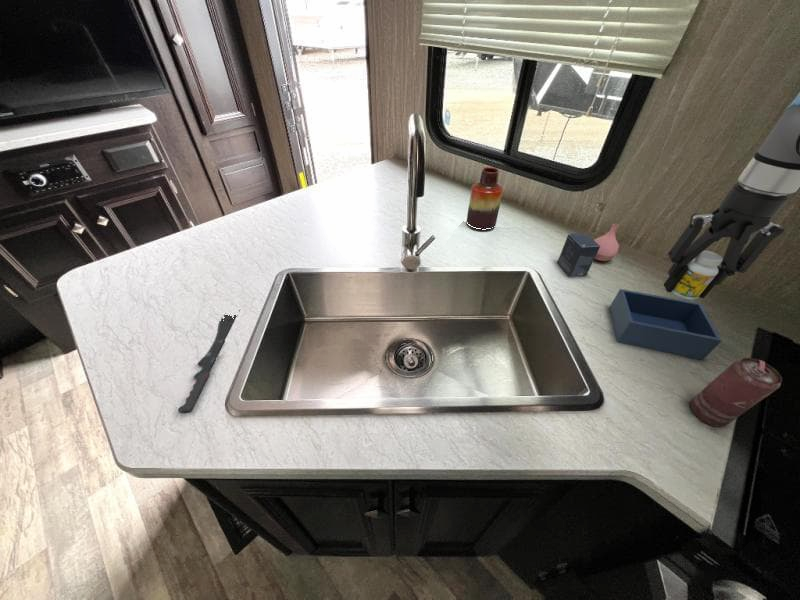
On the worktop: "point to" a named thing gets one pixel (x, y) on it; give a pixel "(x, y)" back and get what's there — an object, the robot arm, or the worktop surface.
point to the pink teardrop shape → (607, 245)
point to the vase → (485, 201)
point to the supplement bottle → (698, 275)
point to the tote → (663, 324)
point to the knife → (208, 362)
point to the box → (578, 254)
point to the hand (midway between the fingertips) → (683, 291)
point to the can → (735, 391)
